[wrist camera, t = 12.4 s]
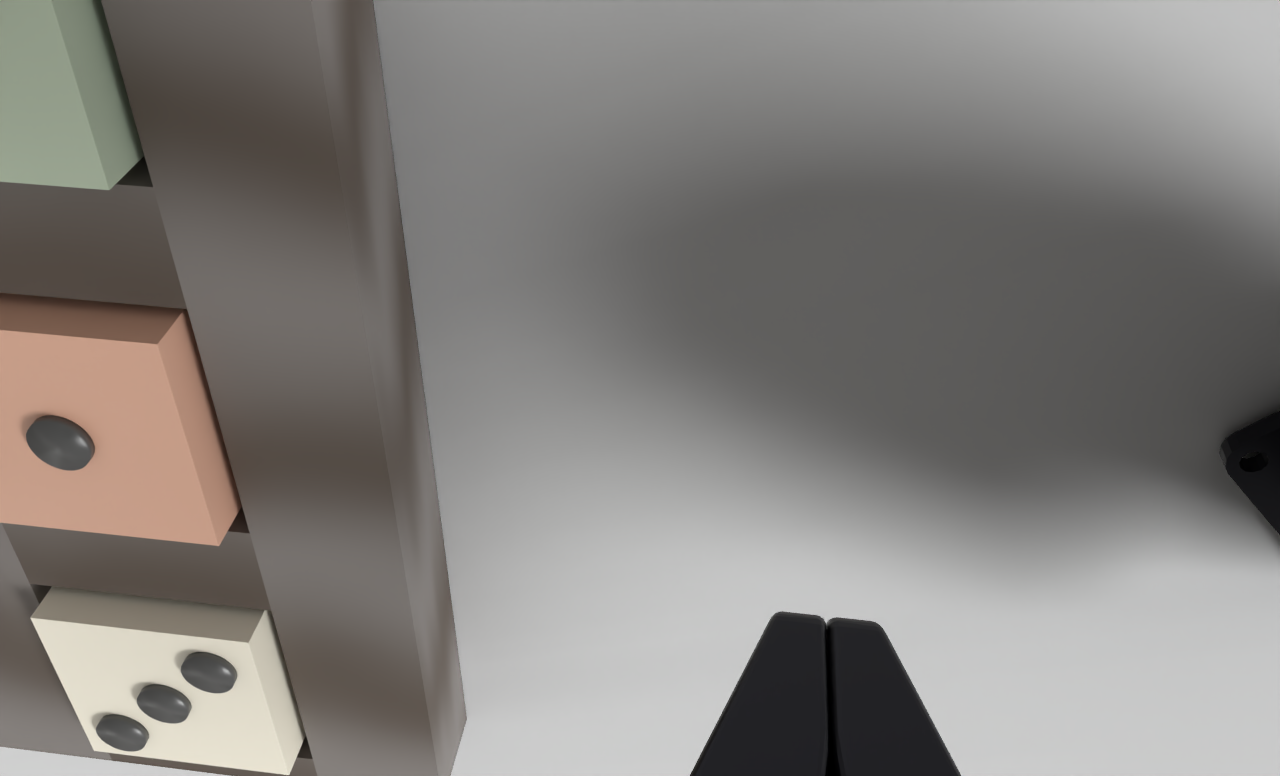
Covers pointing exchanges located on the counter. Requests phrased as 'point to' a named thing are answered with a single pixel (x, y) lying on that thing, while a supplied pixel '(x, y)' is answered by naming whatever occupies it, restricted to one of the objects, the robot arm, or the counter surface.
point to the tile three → (174, 678)
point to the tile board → (261, 376)
